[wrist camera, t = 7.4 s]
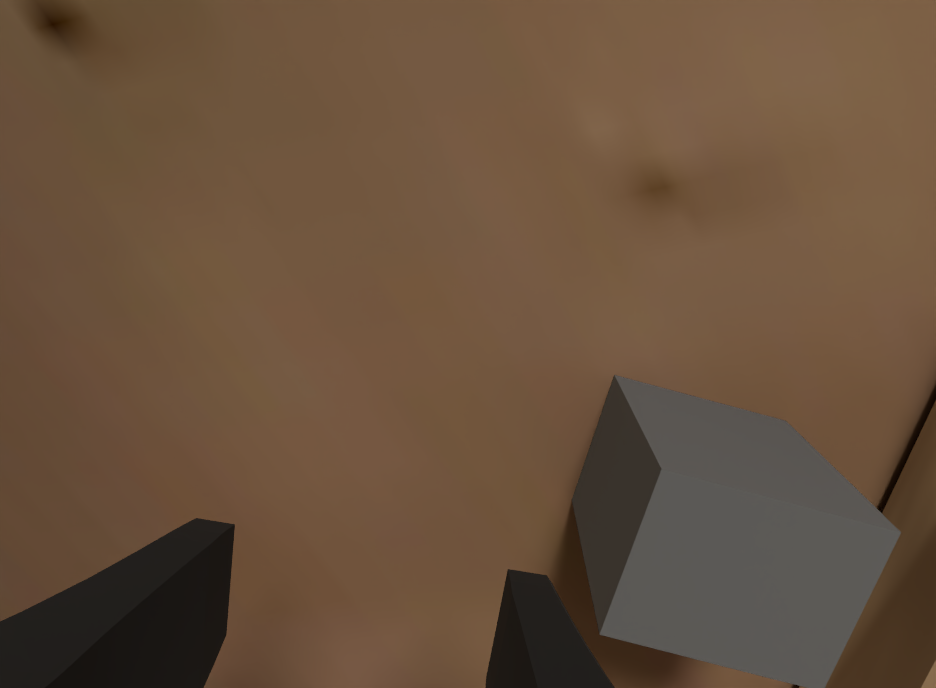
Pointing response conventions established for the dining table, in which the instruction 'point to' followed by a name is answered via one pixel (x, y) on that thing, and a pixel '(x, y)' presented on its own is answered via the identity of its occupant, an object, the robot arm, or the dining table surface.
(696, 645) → the gray rectangular block
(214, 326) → the dining table surface
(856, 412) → the dining table surface
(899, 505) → the door
